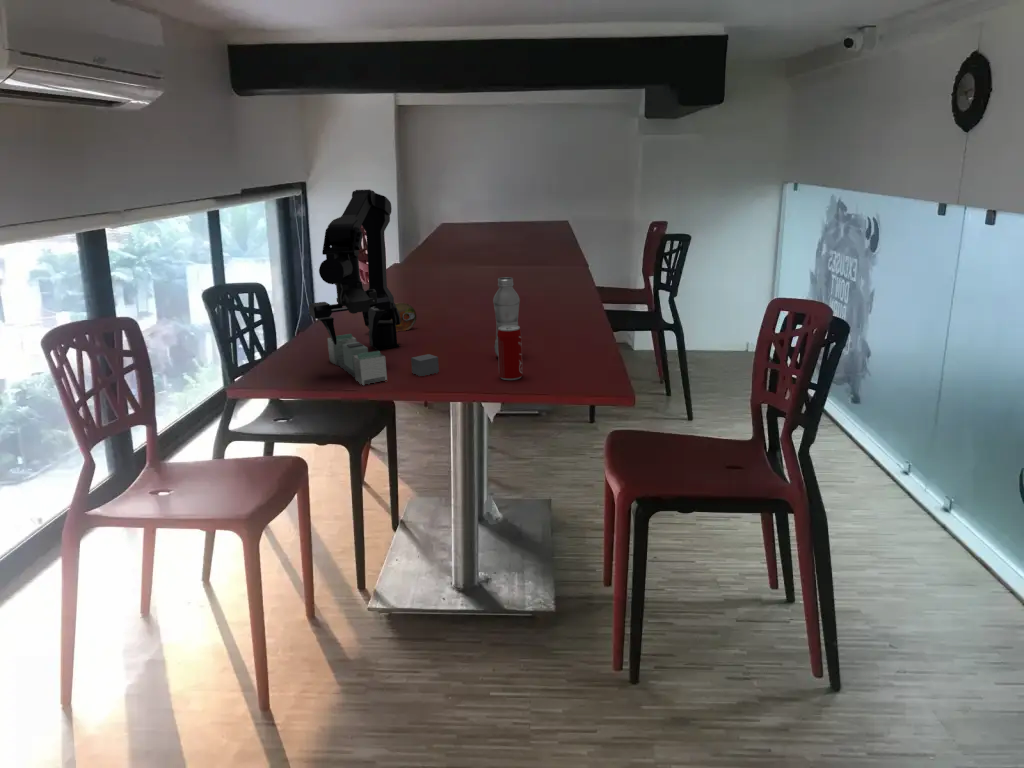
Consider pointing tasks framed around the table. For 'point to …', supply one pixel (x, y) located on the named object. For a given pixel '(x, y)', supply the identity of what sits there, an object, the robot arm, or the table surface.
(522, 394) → the table surface
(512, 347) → the soda can
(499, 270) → the table surface
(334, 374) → the table surface
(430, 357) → the block
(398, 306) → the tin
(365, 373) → the rail
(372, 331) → the robot arm
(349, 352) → the block
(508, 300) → the plastic bottle
